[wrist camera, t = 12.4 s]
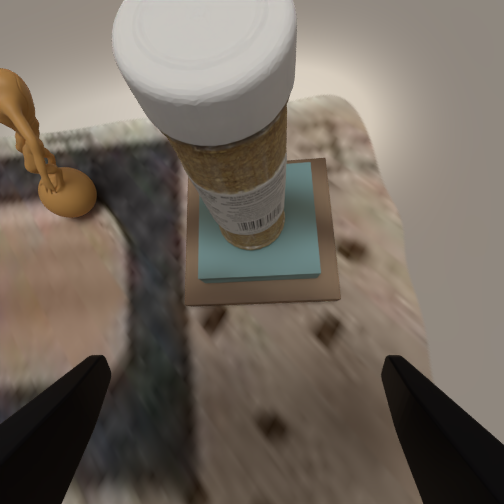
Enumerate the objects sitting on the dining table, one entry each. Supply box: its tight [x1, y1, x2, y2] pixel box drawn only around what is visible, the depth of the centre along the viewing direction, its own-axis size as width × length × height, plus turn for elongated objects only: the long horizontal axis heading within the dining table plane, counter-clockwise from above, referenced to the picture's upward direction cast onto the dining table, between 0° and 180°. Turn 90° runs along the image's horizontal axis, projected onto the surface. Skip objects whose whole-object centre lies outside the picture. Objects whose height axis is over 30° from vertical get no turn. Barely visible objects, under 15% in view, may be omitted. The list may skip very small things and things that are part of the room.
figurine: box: [0, 68, 97, 218], centre depth 19 cm, size 8×6×12 cm
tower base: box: [185, 158, 341, 306], centre depth 21 cm, size 11×11×4 cm
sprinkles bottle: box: [112, 0, 297, 250], centre depth 13 cm, size 5×5×14 cm
